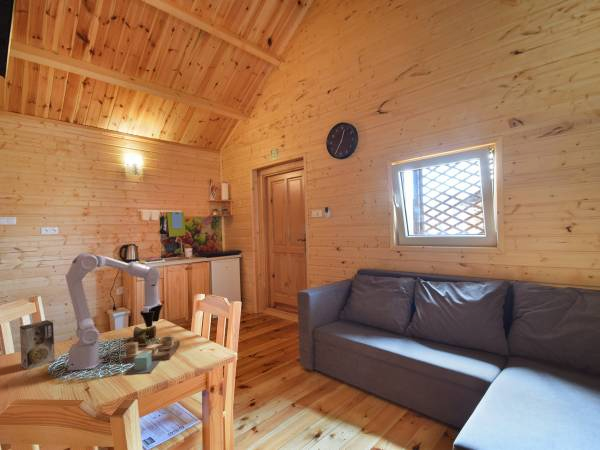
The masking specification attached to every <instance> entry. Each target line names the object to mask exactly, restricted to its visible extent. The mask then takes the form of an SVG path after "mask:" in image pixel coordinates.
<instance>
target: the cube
mask: <svg viewBox="0 0 600 450" xmlns="http://www.w3.org/2000/svg"><path fill="white" fill-rule="evenodd" d="M152 362H153V361H152V359H151V353H139V354H138V355H137V356H136V357H135V358H134V362H133V365H134V370H147V369H148V368H149V367H150V366H151V364H152Z"/></svg>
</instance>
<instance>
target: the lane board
mask: <svg viewBox="0 0 600 450" xmlns="http://www.w3.org/2000/svg"><path fill="white" fill-rule="evenodd" d="M180 342H181V341H180V340H176V341H174V345H173V346H172V347H170V348H157V349H158V353H157V354H153V355H151V359H152V362H156V361H167V360H168V361H169V360H171V358H172V357H173V356H174V354H175V353H176V352H177V350H178V349H179V347H180V344H181V343H180ZM151 344H162V342H152V343H151V342H149V343H147V342H146V344H138V351H144V350H153V349H145V348H146V347H147V346H148V345H151ZM135 357H136V356H127V355H124V356H121V363H124V364H125V363H134V358H135Z"/></svg>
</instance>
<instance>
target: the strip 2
mask: <svg viewBox="0 0 600 450" xmlns="http://www.w3.org/2000/svg"><path fill="white" fill-rule="evenodd" d="M174 337H175V336H174V334H165V335H162V337H161V340H162V341H161V343H162V344H151V345H148V346H147V347H146V348H145V349H153V348H154V347H155V346H157V348H170V347H172V346H173V345H174V342H175V341H174V340H175V339H174Z"/></svg>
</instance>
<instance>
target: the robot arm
mask: <svg viewBox="0 0 600 450" xmlns="http://www.w3.org/2000/svg"><path fill="white" fill-rule="evenodd" d="M97 267H98V268H103V267H110V268H115V269H118V270H122V271H125V274H126V275H128V276H132V277H136V278H139V279H140V278H141V279H143V280H144V283H143V284H144V285H143V286H144V287H143V288H144V290H143V291H144V304H143V305H144V306H143V308H142V310H141V311H140V312H139V313H140V315H141V317H142V319H143V321H144V323H145V327H146V328H151V327H153V323H154V322H155V323H156V322H157V323H158V322H159V318H160V314H161V310H162V309H163V307H164V306H163V304H162V302H161V300H160V297H159V296H160V295H159V293H160V292H159V278H160V276H161V273H160V270H159V269H157V268H156V267H152V266H150V264H146V265H145V264H142V263H140V262H139V261H137V260H135V261H130V262H124V261H122V260H118V259H115V258H112V257H108V256H105V255H100V254H99V255H98V254H90V253H88V252H84V253H80V254H78V255H77V256H76V257H75V258H74V259H73V260H72V262H71V265H70V267H69V269H68V270H67V273H66V275H65V281H66V285H67V288H68V293H69V297H70V299H71V304H72V307H73V312H74V316H75V321H76V327H77V328H76V331H75V334H76V337H77V338H78V341H77V342H76V343H72V345H71V346H70V347H69V349H68V368H67V371H68V370H69V371H78V370H79V371H80V370H83V371H84V370H93V369H95V368H96V367H98V366H99V365H100V364H102V362H104V361H105V358H100V342H99V341H100V340H99V338H100V331H99V330H98V329H97V328H96V327H95V323H94V321H93V318H92V316H91V315H92V314H91V311H90V307H89V303H88V299H87V295H86V290H85V288H84V285H83V284H84V283H83V279H84V278H85V277H86V276H87V274H89V273H90V272H92V271H93V270H95V269H96V268H97Z"/></svg>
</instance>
